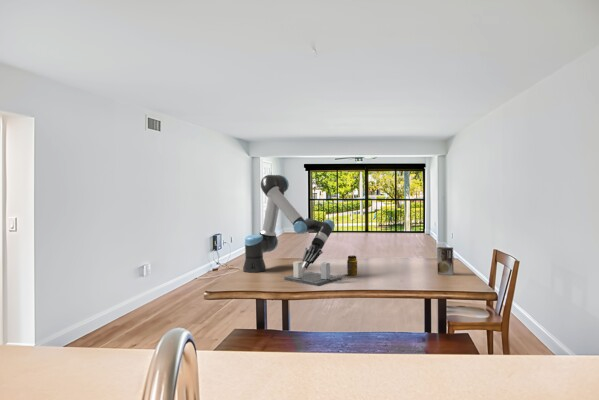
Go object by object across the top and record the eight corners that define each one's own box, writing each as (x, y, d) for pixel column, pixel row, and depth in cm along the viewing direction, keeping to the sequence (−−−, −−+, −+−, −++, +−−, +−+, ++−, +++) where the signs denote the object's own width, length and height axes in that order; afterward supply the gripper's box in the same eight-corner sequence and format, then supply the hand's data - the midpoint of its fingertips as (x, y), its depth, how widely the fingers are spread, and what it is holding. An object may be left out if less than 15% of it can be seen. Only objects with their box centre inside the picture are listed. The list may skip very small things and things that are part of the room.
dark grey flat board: (284, 279, 255) (284, 277, 255) (309, 274, 271) (309, 271, 271) (316, 285, 237) (316, 283, 237) (341, 279, 253) (341, 276, 253)
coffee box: (453, 273, 265) (453, 247, 264) (452, 275, 259) (452, 248, 258) (438, 272, 268) (438, 246, 268) (437, 274, 263) (436, 248, 262)
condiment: (360, 275, 263) (360, 256, 263) (349, 277, 259) (349, 257, 258) (352, 273, 270) (352, 254, 269) (342, 275, 265) (341, 256, 265)
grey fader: (320, 278, 248) (320, 263, 248) (324, 277, 251) (324, 262, 251) (326, 279, 246) (325, 263, 245) (330, 278, 248) (329, 262, 248)
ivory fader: (293, 277, 254) (293, 262, 253) (297, 276, 256) (297, 261, 256) (298, 278, 251) (298, 262, 250) (302, 277, 253) (302, 261, 253)
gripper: (330, 245, 264) (312, 276, 253) (314, 243, 274) (296, 274, 262) (324, 237, 261) (306, 269, 249) (308, 236, 270) (290, 266, 258)
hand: (301, 271), depth 255 cm, fingers closed
